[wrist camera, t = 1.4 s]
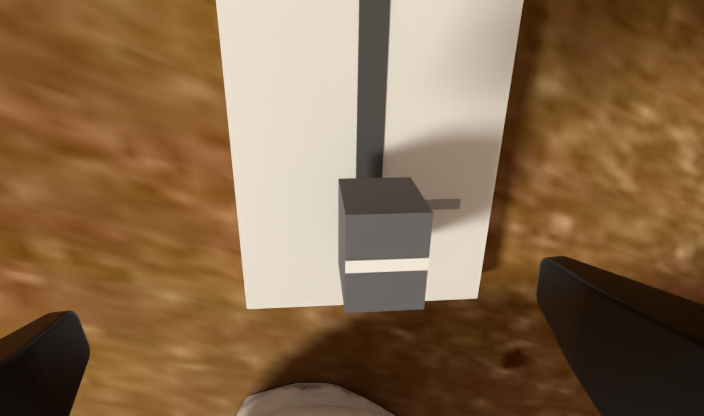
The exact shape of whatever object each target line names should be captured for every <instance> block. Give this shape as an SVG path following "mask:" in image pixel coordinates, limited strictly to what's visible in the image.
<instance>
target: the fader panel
mask: <svg viewBox="0 0 704 416" xmlns="http://www.w3.org/2000/svg"><path fill="white" fill-rule="evenodd" d="M523 1H524V0H216V5H217V15H218V25H219V35H220V45H221V55H222V65H223V75H224V85H225V95H226V105H227V115H228V125H229V135H230V145H231V155H232V165H233V175H234V185H235V195H236V206H237V216H238V226H239V236H240V246H241V256H242V266H243V276H244V286H245V296H246V306H247V309H261V308H283V307H305V306H326V305H344V303H343V295H342V288H341V280H340V272H339V265H338V179H343V178H395V177H411V179H412V180H413V182H414V183H415V185H416V187H417V188H418V190H419V191H420V193H421V194H422V196H423V197H424V199H425V200H426V202H427V203H428V205H429V207H430V208H431V210H432V211H433V222H432V232H431V243H430V253H429V268H428V274H427V284H426V294H425V301H435V300H457V299H477V298H478V291H479V285H480V278H481V272H482V265H483V259H484V252H485V246H486V239H487V233H488V227H489V220H490V214H491V207H492V201H493V194H494V188H495V181H496V175H497V169H498V162H499V156H500V149H501V143H502V136H503V130H504V123H505V117H506V110H507V104H508V98H509V91H510V85H511V78H512V72H513V65H514V59H515V52H516V46H517V39H518V33H519V27H520V20H521V14H522V7H523Z"/></svg>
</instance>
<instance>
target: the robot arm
mask: <svg viewBox="0 0 704 416" xmlns="http://www.w3.org/2000/svg"><path fill="white" fill-rule="evenodd" d="M537 301H538V304H539V306H540V308H541V310H542V312H543V314H544V316H545V318H546V320H547V322H548V324H549V326H550V328H551V330H552V332H553V334H554V336H555V338H556V340H557V342H558V344H559V346H560V348H561V350H562V352H563V354H564V356H565V358H566V360H567V361H568V363H569V365H570V367H571V369H572V370H573V372H574V374H575V375H576V377H577V379H578V380H579V382H580V383H581V385H582V386H583V388H584V389H585V391H586V393H587V394H588V396H589V397H590V399H591V400H592V402H593V403H594V405H595V406H596V408H597V409H598V411H599V413H600V414H601V416H704V305H703V304H700V303H697V302H694V301H692V300H689V299H686V298H683V297H680V296H677V295H674V294H672V293H669V292H666V291H663V290H660V289H657V288H654V287H652V286H649V285H646V284H643V283H640V282H637V281H634V280H631V279H629V278H626V277H623V276H620V275H617V274H614V273H611V272H609V271H606V270H603V269H600V268H597V267H594V266H591V265H588V264H586V263H583V262H580V261H577V260H574V259H571V258H568V257H565V256H556V257H547V258H544V259H543V260H542V261H541V263H540V268H539V276H538V284H537ZM89 355H90V347H89V343H88V341H87V338H86V335H85V333H84V330H83V328H82V325H81V322H80V320H79V317H78V315H77V314H76V313H75V312H73V311H61V312H52V313H48V314H46V315H44V316H42V317H40V318H38V319H37V320H35V321H33V322H31V323H29V324H27V325H26V326H24V327H22V328H20V329H18V330H16V331H15V332H13V333H11V334H9V335H7V336H5V337H3V338H2V339H0V416H69V415H70V412H71V409H72V406H73V404H74V401H75V398H76V395H77V392H78V389H79V386H80V383H81V380H82V377H83V375H84V372H85V369H86V366H87V363H88V360H89Z"/></svg>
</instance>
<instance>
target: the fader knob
mask: <svg viewBox="0 0 704 416" xmlns="http://www.w3.org/2000/svg"><path fill="white" fill-rule="evenodd" d="M432 222H433V211H432V210H431V208H430V207H429V205H428V203H427V202H426V200H425V199H424V197H423V196H422V194H421V193H420V191H419V190H418V188H417V187H416V185H415V183H414V182H413V180H412V179H411V177H395V178H343V179H338V265H339V272H340V280H341V288H342V295H343V303H344V311H345V313H357V312H378V311H399V310H420V309H424V304H425V294H426V284H427V274H428V268H429V253H430V243H431V232H432Z"/></svg>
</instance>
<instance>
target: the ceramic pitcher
mask: <svg viewBox="0 0 704 416" xmlns="http://www.w3.org/2000/svg"><path fill="white" fill-rule="evenodd" d="M236 416H395V415H393V414H391V413H390V412H388V411H386V410H385V409H383V408H382V407H380V406H378V405H376V404H375V403H373V402H371V401H369V400H367V399H365V398H363V397H361V396H359V395H357V394H355V393H353V392H351V391H349V390H346V389H344V388H342V387H340V386H338V385H333V384H329V383H295V384H291V385H287V386H283V387H279V388H275V389H271V390H268V391H264V392H261V393H257V394H253V395H250V396H247V398H246V399H245V401H244V402H243V404H242V406H241V407H240V409H239V411H238V413H237V415H236Z"/></svg>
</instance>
